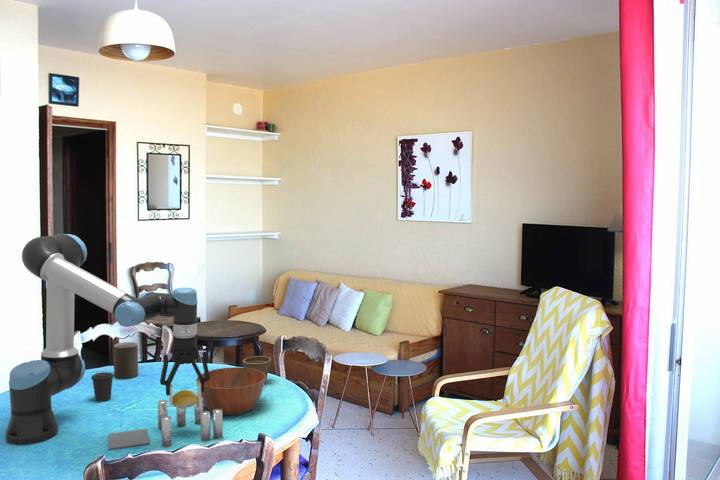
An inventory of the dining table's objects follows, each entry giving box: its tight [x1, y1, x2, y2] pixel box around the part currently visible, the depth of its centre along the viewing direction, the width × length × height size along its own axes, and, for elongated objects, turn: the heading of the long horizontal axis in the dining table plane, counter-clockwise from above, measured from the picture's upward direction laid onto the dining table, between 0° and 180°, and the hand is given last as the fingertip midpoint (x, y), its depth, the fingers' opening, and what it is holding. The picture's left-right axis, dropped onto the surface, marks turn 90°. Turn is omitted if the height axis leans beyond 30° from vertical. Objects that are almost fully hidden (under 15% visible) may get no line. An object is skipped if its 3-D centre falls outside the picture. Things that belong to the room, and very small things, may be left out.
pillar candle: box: [113, 341, 139, 380], centre depth 261 cm, size 10×10×15 cm
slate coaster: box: [108, 428, 150, 451], centre depth 196 cm, size 12×12×1 cm
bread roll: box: [172, 389, 198, 409], centre depth 201 cm, size 8×9×4 cm
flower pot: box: [242, 355, 272, 385], centre depth 253 cm, size 12×11×10 cm
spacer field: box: [157, 395, 224, 448], centre depth 202 cm, size 19×18×9 cm
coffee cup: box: [90, 371, 114, 403], centre depth 233 cm, size 8×8×10 cm
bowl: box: [195, 366, 265, 416], centre depth 225 cm, size 25×25×11 cm
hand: (185, 402), depth 201 cm, fingers closed on bread roll, 8 cm apart
